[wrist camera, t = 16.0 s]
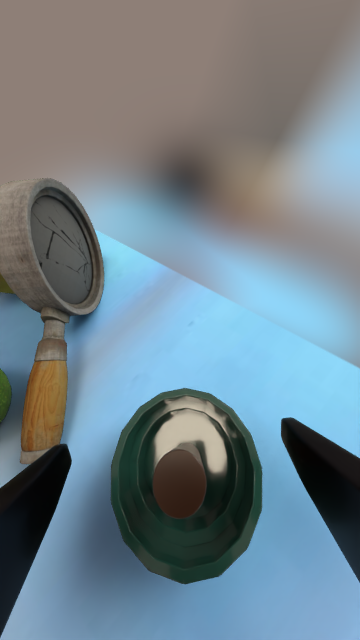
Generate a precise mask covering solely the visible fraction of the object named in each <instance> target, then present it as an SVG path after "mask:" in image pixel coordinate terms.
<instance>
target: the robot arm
mask: <svg viewBox="0 0 360 640" xmlns="http://www.w3.org/2000/svg"><path fill="white" fill-rule="evenodd" d="M281 437H282V440H283V443H284V445H285V447H286V449H287V451H288V453H289V456H290V458H291V460H292V462H293V464H294V466H295V468H296V470H297V473H298V475H299V477H300V479H301V481H302V483H303V485H304V487H305V488H306V490H307V492H308V494H309V495H310V497H311V499H312V501H313V502H314V504H315V506H316V508H317V509H318V511H319V513H320V515H321V516H322V518H323V520H324V521H325V523H326V525H327V527H328V528H329V530H330V532H331V534H332V535H333V537H334V539H335V541H336V542H337V544H338V546H339V547H340V549H341V551H342V553H343V554H344V556H345V558H346V560H347V561H348V563H349V565H350V567H351V568H352V570H353V572H354V573H355V575H356V577H357V579H358V580H359V582H360V458H358V457H357V456H355V455H353V454H352V453H350V452H348V451H347V450H345V449H343V448H342V447H340V446H338V445H337V444H335V443H334V442H332V441H330V440H329V439H327V438H325V437H324V436H322V435H320V434H319V433H317V432H315V431H314V430H312V429H310V428H309V427H307V426H306V425H304V424H302V423H301V422H299V421H297V420H296V419H294V418H291V417H290V418H283V419H282V420H281ZM71 462H72V460H71V456H70V452H69V449H68V446H67V445H66V444H57V445H54V446H53V447H52V448H51V449H49V450H48V451H47V452H45V453H44V454H43V455H42V456H40V457H39V458H38V459H37V460H35V461H34V462H33V463H32V464H30V465H29V466H28V467H27V468H25V469H24V470H23V471H21V472H20V473H19V474H18V475H16V476H15V477H14V478H13V479H11V480H10V481H9V482H8V483H6V484H5V485H4V486H2V487H1V488H0V637H1V635H2V632H3V630H4V628H5V625H6V623H7V621H8V619H9V616H10V614H11V612H12V609H13V607H14V605H15V602H16V600H17V598H18V595H19V593H20V591H21V589H22V586H23V584H24V582H25V579H26V577H27V575H28V572H29V570H30V568H31V566H32V563H33V561H34V559H35V556H36V554H37V552H38V549H39V547H40V545H41V543H42V540H43V538H44V536H45V533H46V531H47V529H48V526H49V524H50V522H51V519H52V517H53V515H54V512H55V510H56V507H57V504H58V501H59V498H60V496H61V493H62V490H63V487H64V484H65V481H66V478H67V475H68V472H69V470H70V467H71Z"/></svg>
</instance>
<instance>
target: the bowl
mask: <svg viewBox="0 0 360 640" xmlns="http://www.w3.org/2000/svg"><path fill="white" fill-rule="evenodd" d="M184 443H190V444H192V445H194V446H195V447H196V448H197V449H198V451H199V453H200V457H201V460H202V464H203V467H204V471H205V475H206V494H205V497H204V500H203V503H202V505H201V506H200V508H199V509H198V510H197V511H196V512H195V513H194V514H193V515H191V516H190V517H188V518H184V519H175V518H172V517H170V516H168V515H167V514H165V513H164V512H163V511H162V510H161V509H160V507H159V506H158V504H157V502H156V500H155V497H154V493H153V475H154V471H155V468H156V466H157V464H158V462H159V461H160V459H161V458H162V457H163V456H164V455H165V454H166V453H168V452H170V451H171V450H173V449H175V448H176V447H178V446H179V445H181V444H184ZM111 504H112V507H113V510H114V513H115V516H116V519H117V522H118V526H119V529H120V532H121V535H122V538H123V540H124V542H125V543H126V544H127V546H128V547H129V548H130V549H131V550H132V551H133V553H134V554H135V555H136V556H137V557H138V559H139V560H140V561H141V562H142V563H143V565H144V566H145V567H146V568H147V569H148V570H149V571H151V572H153V573H156V574H158V575H161V576H163V577H166V578H169V579H171V580H174V581H176V582H179V583H181V584H189V583H193V582H197V581H201V580H206V579H210V578H214V577H219V575H222V574H223V573H224V572H225V571H226V570H227V569H228V568H229V567H230V566H231V565H232V564H233V563H234V562H235V561H236V560H237V559H238V558H239V557H240V556H241V555H242V554H243V553H244V552H245V551H246V550H247V548H248V546H249V544H250V541H251V538H252V535H253V533H254V530H255V527H256V525H257V522H258V519H259V516H260V514H261V511H262V467H261V464H260V461H259V457H258V454H257V451H256V448H255V445H254V442H253V438H252V436H251V434H250V432H249V431H248V429H247V428H246V427H245V425H244V424H243V423H242V421H241V420H240V418H239V417H238V416H237V414H236V413H235V411H234V410H233V409H232V408H231V407H229V406H228V405H226V404H225V403H223V402H222V401H220V400H219V399H217V398H216V397H215V396H213V395H212V394H209V393H206V392H201V391H197V390H192V389H187V388H183V389H178V390H173V391H168V392H163V393H160V394H159V395H157V396H156V397H154V398H153V399H151V400H150V401H148V402H147V403H145V404H144V405H142V406H141V407H140V408H138V410H137V411H136V413H135V414H134V415H133V417H132V418H131V419H130V421H129V422H128V423H127V425H126V426H125V428H124V429H123V430H122V432H121V435H120V438H119V441H118V444H117V447H116V451H115V454H114V457H113V460H112V464H111Z"/></svg>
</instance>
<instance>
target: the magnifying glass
mask: <svg viewBox="0 0 360 640" xmlns="http://www.w3.org/2000/svg"><path fill="white" fill-rule="evenodd" d="M0 273H1V275H2V276H3V278H4V279H5V281H6V282H7V284H8V285H9V287H10V288H11V289H12V291H13V292H14V293H15V294H16V295H17V296H18V297H19V298H20V299H21V300H22V301H23V302H24V303H25V304H27V305H28V306H29V307H30V308H32V309H33V310H35V311H37V312H39V313H41V319H42V321H43V322H44V323H45V325H44V333H43V338H42V340H41V341H40V342H39V343H38V346H37V350H36V355H35V359H34V361H35V362H34V365H33V367H32V370H31V373H30V376H29V380H28V385H27V390H26V396H25V403H24V411H23V420H22V431H21V449H22V451H21V457H20V463H22V464H32V463H33V462H34V461H35V460H37V459H38V458H39V457H40V456H42V455H43V454H44V453H45V452H47V451H48V450H49V449H51V448H52V447H53V446H54V445H57V444H60V440H61V436H62V431H63V425H64V417H65V408H66V398H67V381H68V376H67V365H66V361H67V343H66V342H65V340H64V332H65V323H69V317H70V316H73V315H86V314H88V313H91V312H92V311H93V310H95V309H96V307H97V306H98V304H99V302H100V299H101V297H102V292H103V286H104V268H103V260H102V254H101V249H100V245H99V242H98V239H97V235H96V233H95V230H94V228H93V225H92V223H91V221H90V219H89V217H88V214H87V213H86V211H85V209H84V208H83V206H82V204H81V203H80V202H79V200H78V199H77V197H76V196H75V195H74V194H73V193H72V192H71V191H70V190H69V189H68V188H67V187H66V186H64V185H63V184H62V183H61V182H59V181H56V180H54V179H51V178H50V179H48V178H45V179H44V178H42V179H33V180H22V181H11V182H8V183H6V184H3V185H1V186H0Z"/></svg>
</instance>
